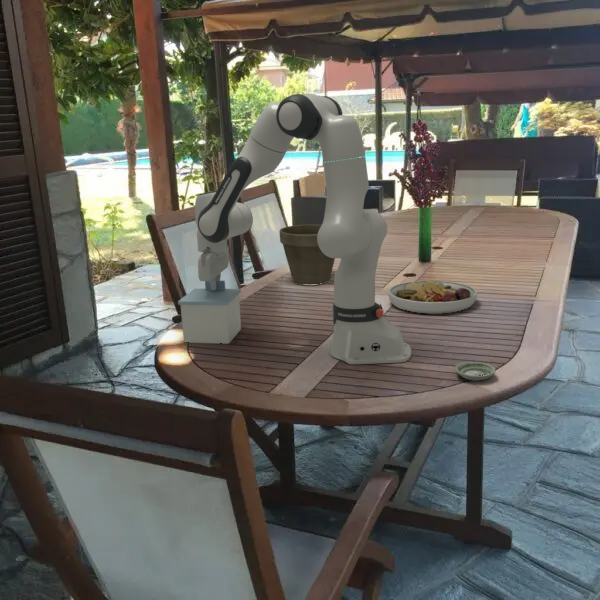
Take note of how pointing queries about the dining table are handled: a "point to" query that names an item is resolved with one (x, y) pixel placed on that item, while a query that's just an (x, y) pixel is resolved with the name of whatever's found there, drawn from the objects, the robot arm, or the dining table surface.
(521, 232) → the dining table surface
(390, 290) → the bowl
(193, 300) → the lid
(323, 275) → the plant pot
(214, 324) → the tub
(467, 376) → the saucer
